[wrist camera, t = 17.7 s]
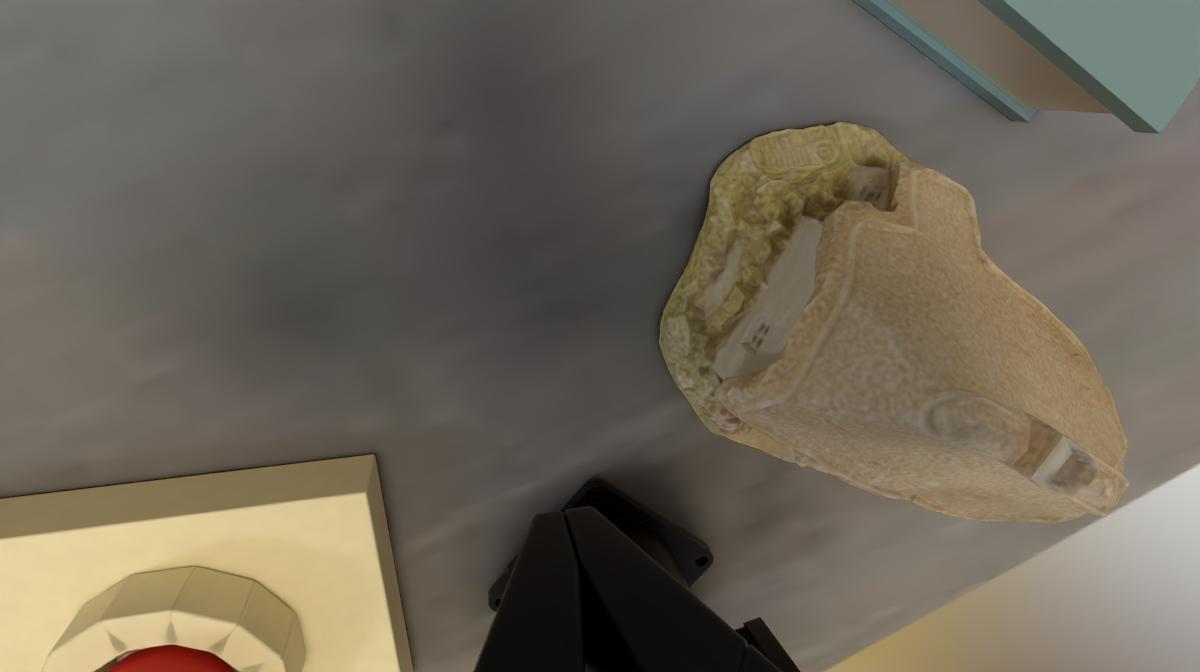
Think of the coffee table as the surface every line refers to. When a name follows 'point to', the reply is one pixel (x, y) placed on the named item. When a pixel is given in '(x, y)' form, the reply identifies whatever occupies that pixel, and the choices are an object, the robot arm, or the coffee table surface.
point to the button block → (206, 572)
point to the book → (1060, 52)
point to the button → (171, 661)
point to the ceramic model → (884, 337)
